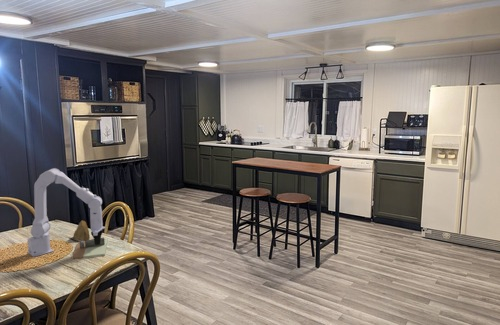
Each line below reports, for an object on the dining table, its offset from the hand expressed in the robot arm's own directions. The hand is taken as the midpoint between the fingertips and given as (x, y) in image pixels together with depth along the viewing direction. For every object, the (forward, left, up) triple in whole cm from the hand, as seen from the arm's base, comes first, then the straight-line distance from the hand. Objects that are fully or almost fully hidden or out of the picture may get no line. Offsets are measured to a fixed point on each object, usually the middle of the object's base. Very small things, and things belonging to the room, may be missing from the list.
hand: (97, 244), depth 183 cm
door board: (-3, +1, -2) cm, 4 cm away
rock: (+1, +21, -3) cm, 21 cm away
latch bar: (0, +2, -1) cm, 3 cm away
